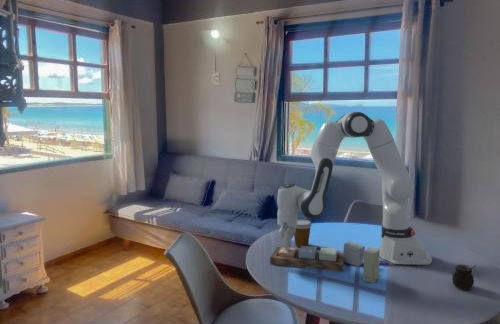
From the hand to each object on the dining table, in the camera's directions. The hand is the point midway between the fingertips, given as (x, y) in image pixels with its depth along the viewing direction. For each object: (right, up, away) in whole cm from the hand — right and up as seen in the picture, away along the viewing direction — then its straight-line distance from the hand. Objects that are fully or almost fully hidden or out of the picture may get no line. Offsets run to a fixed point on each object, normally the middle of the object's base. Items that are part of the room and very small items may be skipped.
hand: (287, 249), depth 173 cm
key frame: (+9, -5, -2) cm, 10 cm away
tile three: (0, -3, 0) cm, 3 cm away
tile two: (+9, -2, -3) cm, 9 cm away
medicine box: (+28, -5, -4) cm, 29 cm away
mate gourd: (+63, -8, -29) cm, 70 cm away
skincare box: (+31, -7, -21) cm, 38 cm away
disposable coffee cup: (+9, -2, +18) cm, 20 cm away
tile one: (+17, -2, -5) cm, 18 cm away
